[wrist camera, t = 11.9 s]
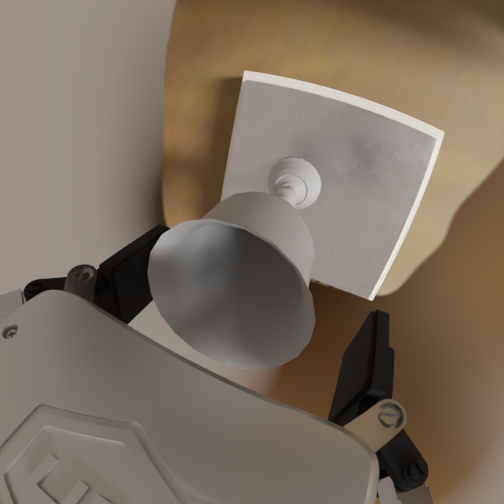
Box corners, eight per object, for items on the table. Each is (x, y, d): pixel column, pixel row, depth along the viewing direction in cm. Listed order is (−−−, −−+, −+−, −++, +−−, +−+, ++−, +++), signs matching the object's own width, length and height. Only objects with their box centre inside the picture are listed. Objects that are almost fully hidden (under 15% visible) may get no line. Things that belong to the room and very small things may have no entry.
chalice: (339, 211, 26) (332, 364, 11) (273, 227, 28) (197, 369, 13) (316, 136, 23) (276, 192, 8) (247, 158, 26) (120, 243, 11)
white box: (423, 134, 24) (436, 138, 19) (360, 289, 35) (357, 318, 30) (265, 84, 28) (245, 79, 23) (234, 241, 39) (214, 262, 34)
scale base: (432, 129, 24) (446, 132, 19) (369, 284, 35) (368, 310, 30) (261, 75, 28) (242, 69, 23) (230, 232, 39) (211, 250, 34)
